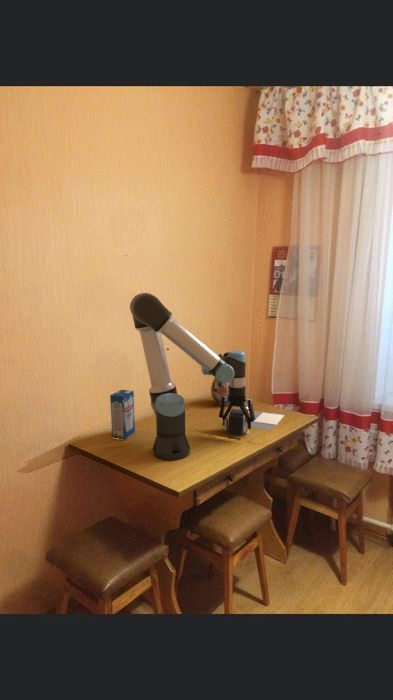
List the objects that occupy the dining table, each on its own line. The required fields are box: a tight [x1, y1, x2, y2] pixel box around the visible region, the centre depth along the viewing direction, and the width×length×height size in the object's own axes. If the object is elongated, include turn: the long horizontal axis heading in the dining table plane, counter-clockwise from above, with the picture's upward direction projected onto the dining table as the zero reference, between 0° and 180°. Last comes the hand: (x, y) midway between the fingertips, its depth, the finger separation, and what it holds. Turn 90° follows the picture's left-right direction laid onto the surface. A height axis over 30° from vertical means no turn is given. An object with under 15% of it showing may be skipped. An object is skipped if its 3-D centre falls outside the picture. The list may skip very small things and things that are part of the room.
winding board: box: [244, 410, 286, 431], centre depth 210 cm, size 19×24×2 cm
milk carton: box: [109, 389, 136, 440], centre depth 192 cm, size 10×6×20 cm, turn 160°
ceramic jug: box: [210, 351, 230, 407], centre depth 238 cm, size 17×15×30 cm
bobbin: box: [237, 404, 252, 425], centre depth 204 cm, size 7×7×8 cm
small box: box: [227, 408, 245, 440], centre depth 193 cm, size 11×6×10 cm, turn 168°
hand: (236, 434), depth 194 cm, fingers open, 9 cm apart
